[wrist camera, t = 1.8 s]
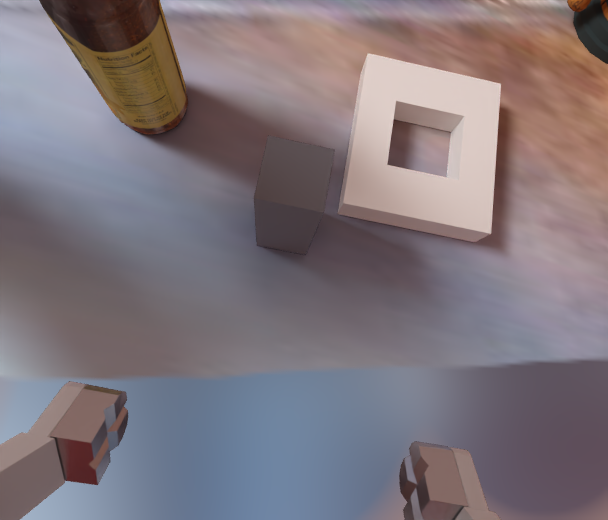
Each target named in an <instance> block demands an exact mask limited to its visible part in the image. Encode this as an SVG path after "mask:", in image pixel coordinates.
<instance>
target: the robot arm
mask: <svg viewBox="0 0 608 520" xmlns="http://www.w3.org/2000/svg"><path fill="white" fill-rule="evenodd" d="M126 401H127V396H126V392H124V391H118V390H113V389H108V388H103V387H98V386H93V385H88V384H82V383H77V382H71V381H69V382H68V383H66V384H65V385H64V386H63V387H62V388H61V390H60V391H59V392H58V394H57V395H56V396H55V397H54V399H53V400H52V401H51V403H50V404H49V405H48V407H47V408H46V409H45V411H44V412H43V413H42V415H41V416H40V417H39V418H38V420H37V421H36V422H35V424H34V425H33V426H32V428H31V429H30V430H29V432H28V433H20V434H18V435H16V436H15V437H13V438H11V439H9V440H8V441H6V442H4V443H2V444H1V445H0V520H20V519H21V518H22V517H23V516H25V515H26V514H27V513H28V512H30V511H31V510H32V509H33V508H34V507H36V506H37V505H38V504H39V503H41V502H42V501H43V500H44V499H46V498H47V497H48V496H49V495H50V494H52V493H53V492H54V491H55V490H57V489H58V488H59V487H60V486H62V485H63V484H64V483H65V481H71V482H79V483H86V484H94V485H98V484H99V482H100V480H101V478H102V476H103V474H104V473H105V471H106V469H107V467H108V465H109V463H110V451H111V450H113V449H114V448H115V447H117V446H118V445H119V443H120V441H121V439H122V437H123V435H124V432H125V429H126V426H127V421H128V410H127V409H126V408H125V407H124V404H125V403H126ZM409 450H410V455H409V456H407V457H405V458H404V460H403V462H402V464H401V469H400V475H399V477H400V490H401V494H402V495H403V497H404V498H405V499H406V501H407V504H406V506H405V507H404V510H403V511H404V518H405V520H501V519H500V518H499V517H498V516H497V514H496V513H495V512H492V511H489V509H488V506H487V503H486V500H485V497H484V494H483V491H482V488H481V485H480V481H479V478H478V476H477V472H476V469H475V466H474V463H473V460H472V457H471V454H470V453H469V452H468V450H464V449H457V448H451V447H448V446H442V445H436V444H429V443H422V442H417V441H416V442H413V443H412V444H411V446H410V448H409Z"/></svg>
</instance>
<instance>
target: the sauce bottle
mask: <svg viewBox="0 0 608 520" xmlns="http://www.w3.org/2000/svg"><path fill="white" fill-rule="evenodd" d="M39 1H40V3H41V5H42V7H43V8H44V10H45V11H46V13H47V14H48V16H49V17H50V19H51V20H52V22H53V23H54V25H55V26H56V28H57V29H58V31H59V32H60V34H61V35H62V37H63V38H64V40H65V41H66V43H67V44H68V46H69V47H70V49H71V50H72V52H73V54H74V55H75V57H76V58H77V59H78V61H79V62H80V64H81V66H82V68H83V69H84V70H85V72H86V73H87V75H88V76H89V78H90V79H91V80H92V82H93V84H94V85H95V87H96V88H97V90H98V91H99V93H100V94H101V96H102V97H103V99H104V100H105V102H106V103H107V105H108V106H109V108H110V109H111V111H112V112H113V113H114V114H115V116H116V117H117V118H119V120H120V121H121V122H122V123H124V124H125V125H127V126H128V127H129V128H131V129H133V130H135V131H138V132H140V133H142V134H158V133H162V132H166V131H169V130H171V129H173V128H174V127H176V126H177V125H178V124H179V122H180V121H181V120H182V118H183V116H184V114H185V112H186V108H187V104H188V99H187V94H186V86H185V82H184V79H183V75H182V72H181V69H180V65H179V62H178V59H177V55H176V52H175V49H174V46H173V42H172V39H171V36H170V33H169V29H168V26H167V23H166V20H165V16H164V13H163V10H162V6H161V3H160V0H39Z"/></svg>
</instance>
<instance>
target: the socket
mask: <svg viewBox="0 0 608 520" xmlns="http://www.w3.org/2000/svg"><path fill="white" fill-rule="evenodd" d="M500 90H501V84H499V83H495V82H491V81H486V80H482V79H478V78H473V77H469V76H465V75H460V74H456V73H451V72H447V71H443V70H438V69H434V68H430V67H425V66H421V65H417V64H412V63H408V62H404V61H399V60H395V59H391V58H386V57H382V56H378V55H373V54H369V53H368V55H367V57H366V60H365V63H364V66H363V69H362V72H361V76H360V82H359V88H358V94H357V100H356V106H355V112H354V118H353V124H352V130H351V136H350V142H349V148H348V154H347V160H346V165H345V171H344V177H343V183H342V189H341V195H340V201H339V207H338V213H337V214H339V215H344V216H349V217H354V218H359V219H364V220H369V221H373V222H378V223H383V224H388V225H393V226H398V227H403V228H407V229H412V230H417V231H422V232H427V233H432V234H437V235H441V236H446V237H451V238H456V239H461V240H466V241H471V242H476V241H478V240H480V239H482V238H484V237H486V236H488V235H490V234H491V227H492V212H493V197H494V181H495V166H496V151H497V136H498V120H499V105H500ZM394 119H395V120H399V121H404V122H408V123H413V124H417V125H422V126H426V127H431V128H435V129H440V130H444V131H449V132H451V137H450V148H449V158H448V168H447V178H446V177H442V176H437V175H432V174H428V173H423V172H418V171H414V170H409V169H404V168H400V167H395V166H390V165H387V163H388V155H389V148H390V141H391V134H392V127H393V120H394Z"/></svg>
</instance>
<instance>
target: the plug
mask: <svg viewBox="0 0 608 520" xmlns="http://www.w3.org/2000/svg"><path fill="white" fill-rule="evenodd" d="M334 152H335V150H334V149H329V148H325V147H320V146H315V145H311V144H306V143H301V142H297V141H292V140H287V139H283V138H278V137H274V136H269V135H268V138H267V142H266V146H265V151H264V155H263V160H262V164H261V169H260V173H259V178H258V182H257V186H256V191H255V195H254V209H255V226H256V242H257V246H263V247H268V248H273V249H278V250H283V251H288V252H293V253H298V254H303V255H306V253H307V250H308V248H309V246H310V243H311V241H312V239H313V236H314V234H315V232H316V229H317V227H318V225H319V223H320V220H321V218H322V216H323V213H324V209H325V203H326V197H327V192H328V186H329V180H330V175H331V169H332V163H333V158H334Z"/></svg>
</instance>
